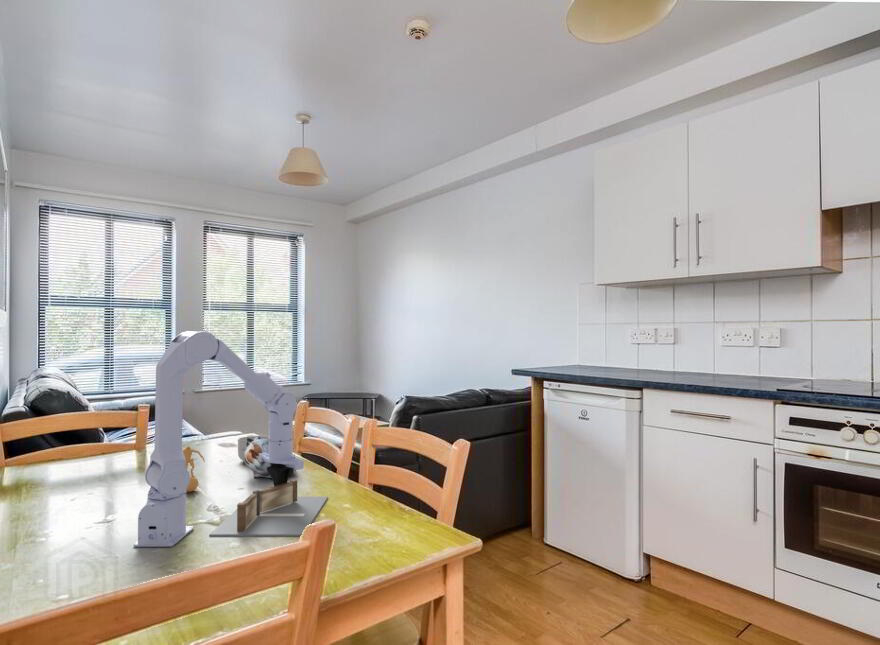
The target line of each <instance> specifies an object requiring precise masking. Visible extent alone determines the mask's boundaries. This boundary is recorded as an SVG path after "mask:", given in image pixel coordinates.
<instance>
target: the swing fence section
mask: <svg viewBox="0 0 880 645" xmlns="http://www.w3.org/2000/svg"><path fill="white" fill-rule="evenodd" d="M297 497H298V479H291V480H289V481H287V483H283V484H280V485H276V486H274V485H273V486H270V487H266V488H263V489H260V512H261V513H262V512H265V511H268V510H271V509H274V508H277V507H280V506H283V505H286V504H289V503H292V502H296V501H297Z"/></svg>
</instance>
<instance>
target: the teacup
mask: <svg viewBox="0 0 880 645" xmlns="http://www.w3.org/2000/svg"><path fill="white" fill-rule="evenodd" d="M255 437H260V439H268V440H269V435H265V434H264V435H261V434H260V435H247V436H242V437H238V438H237V456H238V458H239V459H240V460H241V461H242V462H243V463H245V455H244V453H245V451H246V449H247V445H246V443H247V438H250V439H253V440H254V439H255Z"/></svg>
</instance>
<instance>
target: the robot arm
mask: <svg viewBox="0 0 880 645" xmlns="http://www.w3.org/2000/svg"><path fill="white" fill-rule="evenodd" d="M206 361H212V362H217V363H219V364H220V365H221V366H222V367H224V368H225V369H227V370H228V371H229V372H231V373H232V374H233V375H235V376H236V377H238V378H239V379H240V380H242V381H243V383H244V386H243V387H244V390H245V391H246V392H248V393H249V394H250V395H251V396H253V397H254V398H255V399H256V400H257V401H259V402H260V403H261V404H263V407H264V409H265V410H266V411H268V436H269V453H266V452H264V453H260V454H259V461H260V462H263V461H265V462H269V463H272V465H271V466H269V467H267V471H268V473H269V474H270V476H271V478H270V479H271V481H272V483H273V486H276V485H280V484H283V483H287V482H289V479H290V478H289V476H290V474H291V472H292V470H293V469H294V468H295V470H296V471H299V470H302V469H304V468H305V466H304V464H305V461H304V460H302V459H300V458H298V457H296V453H293V449H294V448H293V443H294V442H293V441H294V440H293V438H294V437H293V436H294V435H293V431H294V430H293V429H294V428H293V426H294V424H293V423H294V422H293V420H294V414H295V412H296V410H297V408H298V404H299V403H298V402H297V400H296V397H295V395H293V393H291V392H287V391H284V388H285V387H284V386H283V385H282V384H278V383H277V382H276V381H274V380H273V379H272V378H271V376H272V375H271V374H270V373H269V372H268V371H262V370H257V371H255V370H254V369H252V367H250V366H249V365H248V364H247V363H246V362H245V361H244V360H243V359H242V358H241V357H239V356H238V355H237V354H236V353H235V352H234V350H232V349H231V348H230V347H229V346H228V345H227V344H226V343H225V342H224V341H222V340H221V339H219V338H217V337H216V336H215V335H213V333H211V332H209V331H204V330H201V331H192V330H186V331H183V332H181V333H179V334H177V336H175V337H174V338H172V339H170V341H169V345H168V346H167V348H166V350H165V351H164V353H163V354H162V355H161V357H160V359H159V360H158V362H157V364H156V367H155V396H154V397H155V400H154V402H155V403H154V405H155V406H154V408H155V410H154V449H153V450H152V453H151V454H150V455H149V464H148V465H147V468H146V470H145V472H144V480H145V482H146V484H148V486H149V487H150V488H149V490H148V493H147V498H146V499H147V501H146V503H145V505H144V506H143V507H142V508H141V509H140V511H139V513H138V516H137V540H136V542H134V543H133V547H139V548H140V547H153V548H154V547H156V548H157V547H158V548H159V547H173V546H174V545H176V544H177V543H178V542H179V541H180V540H182V539H183V538H184V537H185V536H186V535H188V534H189V533H190V532H192V531H193V530H194V528H195V526H193V525H187V492H186V489H187V487H188V486H189V483H190V477H191V473H190V472H189V471H188V468H187V469H186V459H185V456H184V453H183V404H184V403H183V402H184V400H183V398H184V397H183V395H184V375H185V374H186V373H187V372H189V371H191V369H193V367H195V366H196V365H199V364H201V363H203V362H206Z"/></svg>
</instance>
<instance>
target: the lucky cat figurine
mask: <svg viewBox="0 0 880 645" xmlns="http://www.w3.org/2000/svg"><path fill="white" fill-rule="evenodd" d="M246 445H247V449H246V451H245V453H244V455H245V462H244V463H245V465H246V466H247V467H248V468H249V469H250V471H252V475H253V478H258V477H261V478H262V477H263V478H269V479H272V478H271V476H270V474H269V473H268V471H267V467H269V466H271V465H272V463H269V462H265V461H263V462H260V461H259V454H260V453H264V452H266V453H269V440H268V439H260V437H255V439H254V440H253V439H250V438H247V443H246ZM296 472H297V470H295V468H294V469H293V470H292V472H291V474H290V476H289V478H288V479H290V478H292V477H293V475H295V474H296Z"/></svg>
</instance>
